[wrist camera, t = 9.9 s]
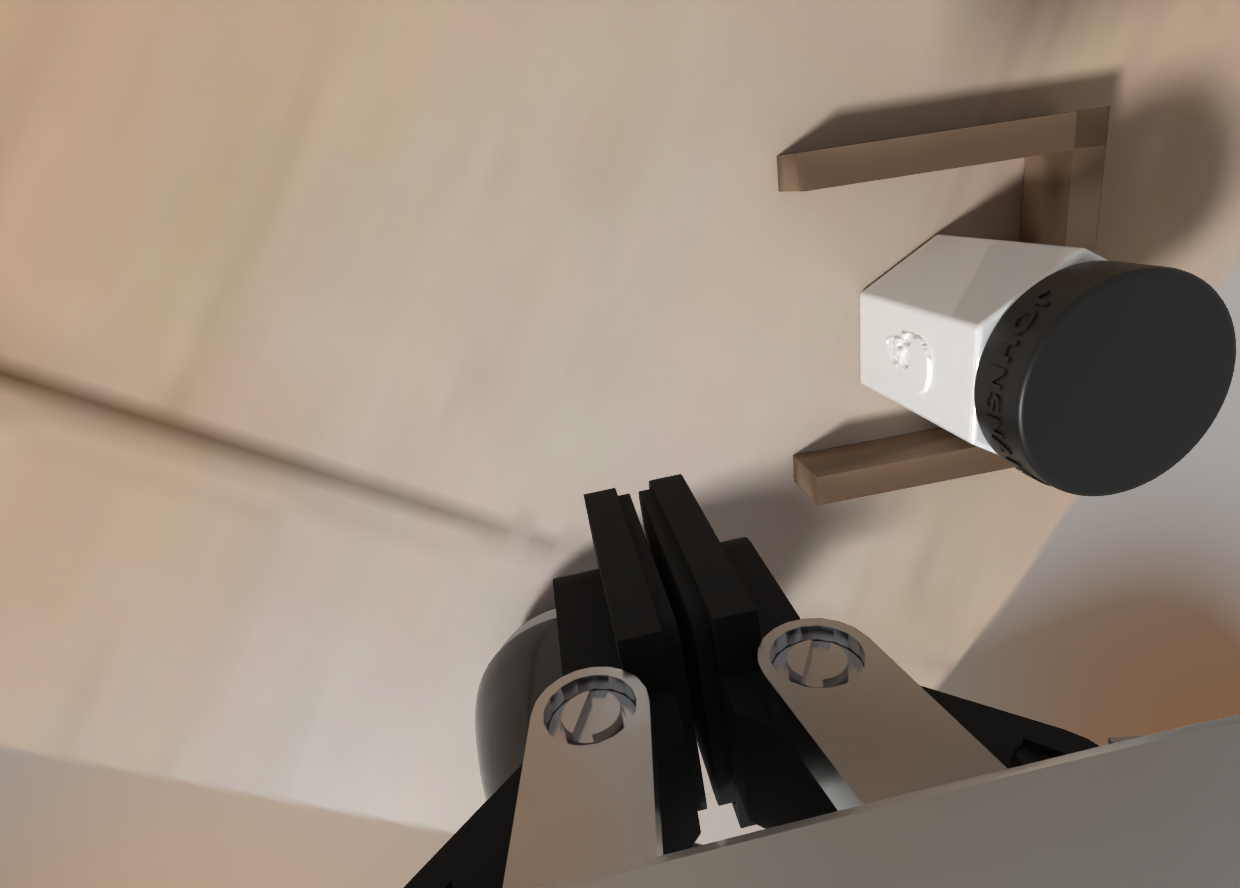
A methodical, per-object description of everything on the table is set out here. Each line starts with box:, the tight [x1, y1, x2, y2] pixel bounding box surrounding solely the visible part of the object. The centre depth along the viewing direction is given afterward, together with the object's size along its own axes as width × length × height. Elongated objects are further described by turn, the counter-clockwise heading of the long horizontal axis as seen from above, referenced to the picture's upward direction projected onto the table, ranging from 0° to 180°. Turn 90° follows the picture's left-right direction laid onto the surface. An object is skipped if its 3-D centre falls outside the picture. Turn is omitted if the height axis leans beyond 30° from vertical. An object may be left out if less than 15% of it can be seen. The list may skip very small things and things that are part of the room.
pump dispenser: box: [475, 609, 702, 848], centre depth 31 cm, size 10×10×15 cm
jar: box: [860, 235, 1236, 496], centre depth 29 cm, size 9×8×12 cm
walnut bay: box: [777, 106, 1110, 505], centre depth 33 cm, size 16×14×3 cm
